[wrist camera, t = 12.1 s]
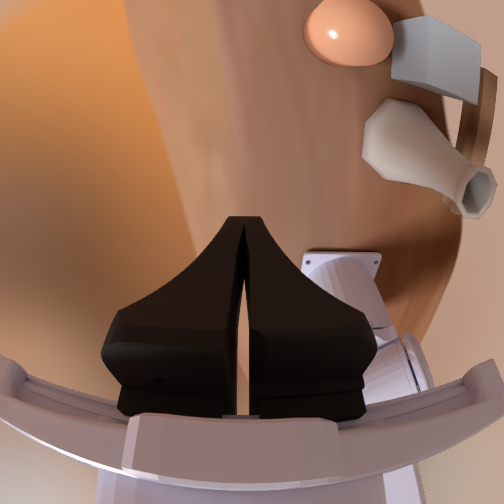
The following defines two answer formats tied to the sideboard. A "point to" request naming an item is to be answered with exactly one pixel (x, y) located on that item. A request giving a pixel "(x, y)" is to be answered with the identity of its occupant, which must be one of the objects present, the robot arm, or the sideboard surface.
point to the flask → (424, 157)
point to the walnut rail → (476, 127)
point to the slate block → (436, 58)
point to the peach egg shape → (348, 33)
